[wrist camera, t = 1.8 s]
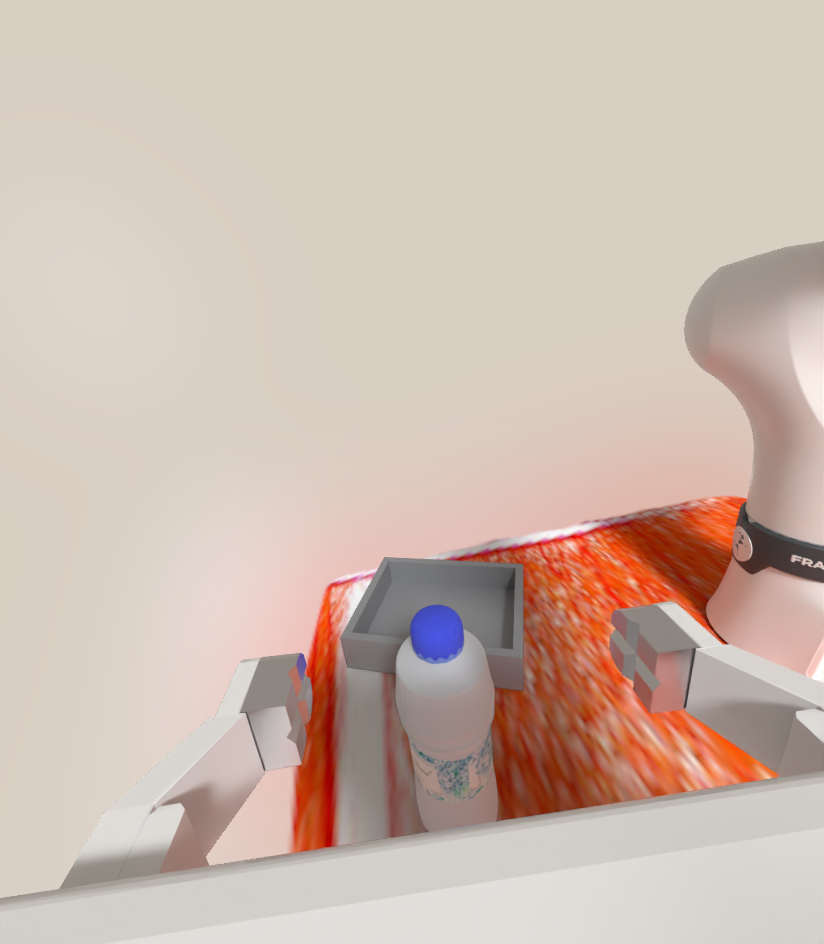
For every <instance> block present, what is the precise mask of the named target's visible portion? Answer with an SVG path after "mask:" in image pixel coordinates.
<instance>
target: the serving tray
mask: <svg viewBox="0 0 824 944" xmlns="http://www.w3.org/2000/svg"><path fill="white" fill-rule="evenodd" d="M430 605H444V606H448V607H450V608H451V609H453V610H454V611H455V612H456V613H457V614H458V615H459V617H460V619H461V621H462V624H463V629H465V630H467V631H468V632H470V633H471V634H473V635H474V636H475V637H476V638H477V639H478V640H479V642H480V643H481V644H482V646H483V648H484V650H485V654H486V657H487V662H488V666H489V670H490V674H491V678H492V681H493V685H494V687H497V688H504V689H512V690H519V691H524V585H523V564H513V563H493V562H472V561H451V560H431V559H410V558H389V557H388V558H387V557H384V559H383V561H382V562H381V564H380V566H379V568H378V570H377V572H376V573H375V575H374V577H373V579H372V581H371V583H370V584H369V586H368V588H367V590H366V592H365V594H364V595H363V597H362V599H361V601H360V603H359V605H358V606H357V608H356V610H355V612H354V614H353V616H352V617H351V619H350V621H349V623H348V625H347V627H346V628H345V630H344V632H343V634H342V636H341V638H340V639H341V643H342V647H343V651H344V656H345V660H346V664H347V667H348V668H355V669H363V670H370V671H378V672H385V673H392V674H396V658H397V654H398V651H399V649H400V647H401V645H402V644H403V643H404V641H405V640H406V639H407V638H408V637H409V636H410V626H411V621H412V619H413V617H414V616H415V615H416V613H417V612H418V611H419V610H421V609H422V608H424V607H427V606H430Z"/></svg>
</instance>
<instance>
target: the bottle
mask: <svg viewBox="0 0 824 944" xmlns="http://www.w3.org/2000/svg"><path fill="white" fill-rule="evenodd" d="M494 700H495V689H494V685H493V681H492V678H491V674H490V670H489V666H488V662H487V657H486V654H485V650H484V648H483V646H482V644H481V643H480V642H479V640H478V639H477V638H476V637H475V636H474V635H473V634H471V633H470V632H468V631H467V630H465V629H463V624H462V621H461V619H460V617H459V615H458V614H457V613H456V612H455V611H454V610H453V609H451V608H450V607H448V606H444V605H430V606H427V607H424V608H422V609H421V610H419V611H418V612H417V613H416V615H415V616H414V617H413V619H412V621H411V626H410V636H409V637H408V638H407V639H406V640H405V641H404V643H403V644H402V645H401V647H400V649H399V651H398V654H397V658H396V693H395V701H396V706H397V710H398V712H399V717H400V721H401V724H402V726H403V728H404V730H405V732H406V733H407V735H408V739H409V744H410V750H411V755H412V761H413V767H414V772H415V787H416V798H417V804H418V809H419V814H420V817H421V820H422V823H423V825H424V827H425V828H426V829H427V830H428V832H431V831H437V830H444V829H450V828H456V827H463V826H469V825H476V824H482V823H489V822H495V821H496V820H497V814H498V790H497V783H496V777H495V771H494V766H493V752H492V737H491V724H492V721H493V717H494V712H495V704H494Z"/></svg>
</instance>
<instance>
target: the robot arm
mask: <svg viewBox="0 0 824 944" xmlns="http://www.w3.org/2000/svg"><path fill="white" fill-rule="evenodd" d="M684 332H685V341H686V345H687V348H688V350H689V352H690V354H691V356H692V358H693V359H694V360H695V362H696V363H697V364H698V365H699V366H700V367H701V368H702V369H703V370H705V371H706V372H708V373H709V374H711V375H712V376H714V377H716V378H717V379H718V380H719V381H721V382H722V383H723V384H724V385H725V386H726V387H728V389H729V390H731V392H732V393H733V394H734V395H735V396H736V398H737V399H738V400H739V402H740V403H741V405H742V406H743V408H744V410H745V412H746V414H747V416H748V419H749V421H750V424H751V428H752V432H753V439H754V453H753V466H752V474H751V481H750V487H749V493H748V498H747V501H746V502H745V503H743V504H742V506H741V508H740V512H739V515H738V519H737V523H736V528H735V531H734V535H733V542H732V558H731V561H730V564H729V566H728V568H727V571H726V573H725V575H724V577H723V579H722V581H721V583H720V585H719V587H718V588H717V590H716V592H715V593H714V594H713V596H712V597H711V598H710V599H709V601H708V603H707V606H706V614H707V617H708V620H709V622H710V624H711V625H712V627H713V628H714V630H715V631H716V632H717V633H718V634H719V635H720V636H721V637H722V638H723V639H724V640H725V641H726V642H727V643H728V644H726V645H723V644H722V643H721V642H719V641H718V640H717V639H716V638H715V637H714V636H713V635H712V634H710V633H709V632H708V631H707V630H706V629H705V628H704V627H703V626H701V625H700V624H699V623H698V622H697V621H696V620H695V619H694V618H692V617H691V616H690V615H689V614H688V613H687V612H686V611H685V610H683V609H682V608H681V607H680V606H679V605H678V604H676V603H674V602H672V601H669V602H662V603H656V604H652V605H645V606H638V607H631V608H624V609H617V610H614V612H613V614H612V619H611V623H612V624H613V625H614V627H615V628H616V630H615V631H614V632H613V634H612V635H611V636H610V650H611V654H612V658H613V660H614V662H615V664H616V666H617V668H618V669H619V671H620V672H621V673H622V675H624V676H625V677H627V678H629V679H631V680H632V681H634V686H633V690H634V692H635V693H636V694H637V696H638V697H639V698H640V700H641V701H642V703H643V704H644V705H645V707H646V708H647V709H648V711H649V712H650V713H658V712H667V711H675V710H684V709H686V712H687V713H689V714H690V715H692V716H693V717H695V718H696V719H698V720H699V721H701V722H702V723H704V724H705V725H707V726H708V727H709V728H711V729H712V730H714V731H715V732H717V733H718V734H720V735H721V736H723V737H724V738H726V739H727V740H729V741H730V742H731V743H733V744H734V745H736V746H737V747H739V748H740V749H742V750H743V751H745V752H746V753H748V754H749V755H751V756H752V757H753V758H755V759H756V760H758V761H759V762H761V763H762V764H764V765H765V766H767V767H768V768H770V769H771V770H773V771H774V772H776V773H777V774H778V777H777V778H772V779H765V780H759V781H752V782H746V783H739V784H733V785H727V786H720V787H714V788H707V789H701V790H694V791H688V792H682V793H675V794H669V795H662V796H656V797H650V798H643V799H637V800H631V801H624V802H618V803H612V804H605V805H599V806H592V807H586V808H580V809H573V810H567V811H560V812H554V813H547V814H541V815H534V816H528V817H521V818H515V819H508V820H502V821H495V822H489V823H482V824H476V825H469V826H463V827H456V828H450V829H444V830H437V831H431V832H424V833H418V834H411V835H405V836H398V837H392V838H385V839H379V840H373V841H366V842H360V843H353V844H347V845H340V846H334V847H327V848H321V849H315V850H308V851H302V852H295V853H289V854H282V855H276V856H270V857H263V858H257V859H250V860H244V861H238V862H231V863H224V864H218V865H211V866H209V864H208V862H207V859H206V856H207V854H208V853H209V851H210V850H211V849H212V847H213V846H214V844H215V843H216V842H217V840H218V839H219V837H220V836H221V834H222V833H223V832H224V830H225V829H226V828H227V826H228V825H229V823H230V822H231V821H232V819H233V818H234V816H235V815H236V814H237V812H238V811H239V809H240V808H241V806H242V805H243V804H244V802H245V801H246V799H247V798H248V797H249V795H250V794H251V792H252V791H253V790H254V788H255V787H256V785H257V784H258V783H259V781H260V780H261V778H262V777H263V776H264V774H265V772H264V771H269V770H275V769H280V768H286V767H292V766H297V765H302V760H303V755H304V749H305V744H306V739H307V735H306V731H305V727H304V726H305V725H306V724H307V723H308V722H309V720H310V718H311V712H312V686H311V682H310V678H309V677H307V676H306V675H305V669H306V661H305V658H304V655H303V654H302V653H296V654H287V655H279V656H269V657H263V658H257V659H247V660H242V661H241V662H240V663H239V664H238V666H237V669H236V671H235V673H234V675H233V677H232V680H231V682H230V684H229V686H228V689H227V691H226V693H225V695H224V698H223V700H222V702H221V705H220V707H219V709H218V711H217V714H216V716H215V717H212V718H208V719H207V720H206V721H205V722H204V723H203V724H202V725H200V727H198V728H197V729H196V730H195V731H194V732H193V733H192V734H190V735H189V736H188V737H187V738H186V739H185V740H184V741H183V742H182V743H180V744H179V745H178V746H177V747H176V748H175V749H174V750H173V751H172V752H171V753H169V755H167V756H166V757H165V758H164V759H163V760H162V761H161V762H159V763H158V764H157V765H156V766H155V767H154V768H153V769H152V770H151V771H150V772H148V773H147V774H146V775H145V776H144V777H143V778H142V779H141V780H140V781H139V782H137V783H136V784H135V785H134V786H133V787H132V788H131V789H130V790H129V791H127V792H126V793H125V794H124V795H123V796H122V797H121V798H120V799H119V800H117V801H116V802H115V803H114V804H113V805H112V806H111V807H110V808H109V809H108V810H106V811H105V812H104V814H103V816H102V818H101V819H100V821H99V823H98V824H97V826H96V828H95V829H94V831H93V833H92V835H91V836H90V838H89V840H88V841H87V843H86V845H85V846H84V848H83V850H82V851H81V853H80V855H79V857H78V858H77V860H76V862H75V863H74V865H73V867H72V869H71V870H70V872H69V874H68V875H67V877H66V879H65V880H64V882H63V884H62V885H61V887H60V889H57V890H50V891H44V892H37V893H32V894H25V895H18V896H12V897H5V898H0V944H824V241H823V242H817V243H810V244H803V245H797V246H790V247H785V248H781V249H778V250H774V251H771V252H768V253H764V254H761V255H757V256H754V257H751V258H748V259H744V260H742V261H739V262H735V263H732V264H729V265H726V266H723V267H721V268H719V269H718V270H717V271H716V272H714V273H713V274H712V275H711V276H710V277H709V278H708V279H707V280H706V281H705V283H704V284H703V285H702V286H701V288H700V289H699V290H698V292H697V293H696V295H695V296H694V298H693V300H692V302H691V304H690V307H689V309H688V312H687V315H686V320H685V328H684Z"/></svg>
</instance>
